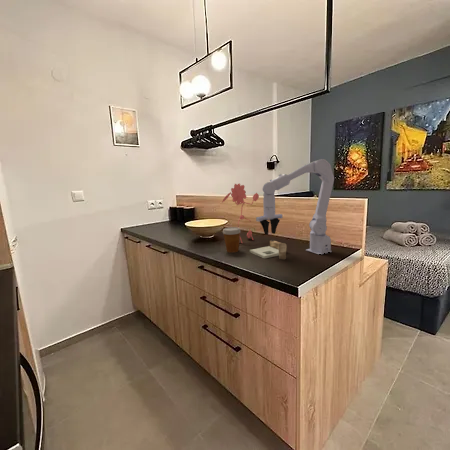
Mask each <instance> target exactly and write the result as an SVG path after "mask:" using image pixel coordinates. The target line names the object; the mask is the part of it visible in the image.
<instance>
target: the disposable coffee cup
mask: <svg viewBox="0 0 450 450" xmlns="http://www.w3.org/2000/svg"><path fill="white" fill-rule="evenodd" d="M241 231H242V230H241V229H240V227H239V228H238V226H237V227H236V226H234V227H232V226H231V227H225V228H223V230H222V234H223V239H224V243H225V250H226V252H227V253H233V254H234V253H237V252H239V248H240V237H241V235H240V234H241Z"/></svg>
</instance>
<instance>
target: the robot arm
mask: <svg viewBox="0 0 450 450" xmlns="http://www.w3.org/2000/svg"><path fill="white" fill-rule="evenodd" d="M309 173H313V174H315V175H316V176H318V178H319V179H320V180H321V185H320V189H319V192H318V193H319V194H318V198H317V203H316V207H315V212H314V214H313V215H312V217H311V220H310V222H309V229H310V232H309V248H307V249H305V251H306V252H310V253H314V254H317V255H319V254H321V255H324V253H325V254H329V253H328V252H330V253H332V245H331V244H332V239H331V237H330V236H329V235H327V234H326V232H327V229H328V226H327V220H328V219H327V213H328V212H327V211H328V208H329V203H330V199H331V195H332V191H333V186H334V182H335V176H334V172H333V169H332V165H331V163H330V162H329V161H327V159H324V158H320V159H318V160H317V159H316V160H314V161H312V162H308V163H307V164H304V165H302V166H300V167H298V168H297V169H295V170H293V171H291V172H290V173H288V174H285V173H280V174H278V176H277V177H275V178H273V179H269V181H267V182H266V183H264V184H263V186H262V191H263V194H262V195H263V199H262V203H263V204H262V205H263V207H262V208H263V215H260V216H257V217H255V221H256V222H258V223H260V225H261V227H262V229H263V233H264V235H265V236H268V235H269V226H270V229H271V234H273V235H275V234H276V231H277V227H278V225H279V223H280V219H283V214H282V213H278V214H277V213H276V197H275V192H276V191H279V190H281V189H283V188H285V187H287V186H289V185H290V183H291V181H293V180H294V179H296V178H298V177H300V176H303V175H304V174H309Z"/></svg>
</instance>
